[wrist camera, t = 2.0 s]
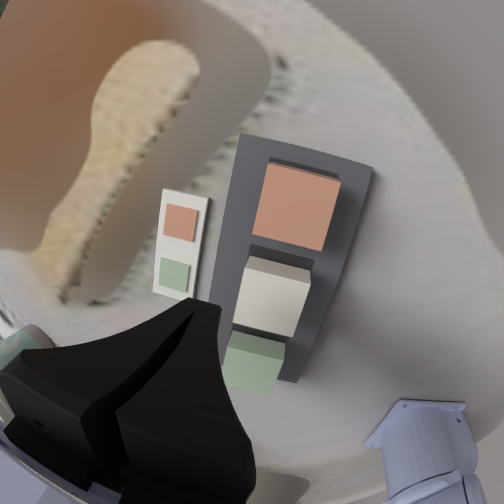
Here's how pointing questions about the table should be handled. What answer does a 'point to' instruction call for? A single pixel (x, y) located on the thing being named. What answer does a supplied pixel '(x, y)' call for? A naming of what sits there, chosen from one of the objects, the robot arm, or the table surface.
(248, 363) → the key sage
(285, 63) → the table surface
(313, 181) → the key terracotta
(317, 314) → the dark grey base plate
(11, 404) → the robot arm
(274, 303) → the key ivory
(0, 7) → the medication box
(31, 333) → the coffee cup
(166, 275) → the card
